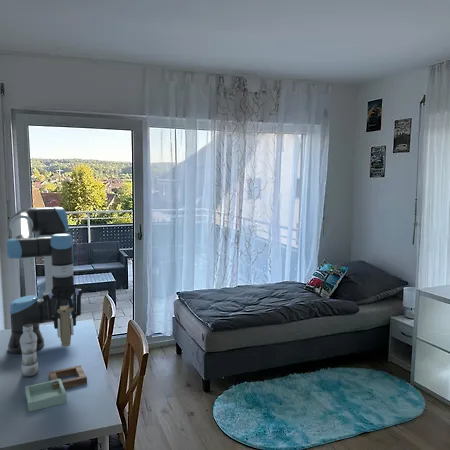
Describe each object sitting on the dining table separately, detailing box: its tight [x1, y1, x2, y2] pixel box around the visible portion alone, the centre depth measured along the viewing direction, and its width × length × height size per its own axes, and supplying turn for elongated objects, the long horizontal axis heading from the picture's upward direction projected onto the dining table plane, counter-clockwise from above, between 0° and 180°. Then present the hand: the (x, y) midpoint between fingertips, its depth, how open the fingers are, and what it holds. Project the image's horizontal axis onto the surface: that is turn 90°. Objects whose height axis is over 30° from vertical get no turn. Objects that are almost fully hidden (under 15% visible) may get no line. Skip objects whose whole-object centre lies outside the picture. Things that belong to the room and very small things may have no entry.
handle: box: [55, 306, 74, 348], centre depth 159 cm, size 5×6×15 cm
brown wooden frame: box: [48, 364, 88, 390], centre depth 161 cm, size 12×12×2 cm
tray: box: [24, 378, 68, 413], centre depth 148 cm, size 13×12×3 cm
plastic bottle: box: [20, 324, 40, 377], centre depth 165 cm, size 6×7×20 cm
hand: (65, 335), depth 159 cm, fingers closed on handle, 4 cm apart
